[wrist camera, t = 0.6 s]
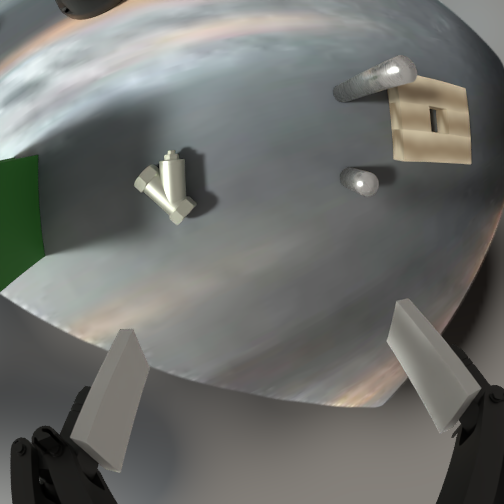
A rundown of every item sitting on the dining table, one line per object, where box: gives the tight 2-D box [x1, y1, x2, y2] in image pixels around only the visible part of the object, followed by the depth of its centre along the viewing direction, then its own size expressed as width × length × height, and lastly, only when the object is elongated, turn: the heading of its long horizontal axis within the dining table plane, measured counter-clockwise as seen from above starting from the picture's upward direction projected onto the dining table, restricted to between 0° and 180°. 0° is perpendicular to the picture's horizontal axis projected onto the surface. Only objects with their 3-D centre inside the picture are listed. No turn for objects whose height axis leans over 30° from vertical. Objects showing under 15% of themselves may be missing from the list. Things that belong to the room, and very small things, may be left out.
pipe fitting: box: [134, 150, 197, 225], centre depth 33 cm, size 8×4×7 cm
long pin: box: [333, 55, 417, 103], centre depth 23 cm, size 3×3×16 cm
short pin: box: [340, 167, 379, 197], centre depth 32 cm, size 3×3×6 cm
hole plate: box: [387, 76, 471, 164], centre depth 30 cm, size 13×15×3 cm
